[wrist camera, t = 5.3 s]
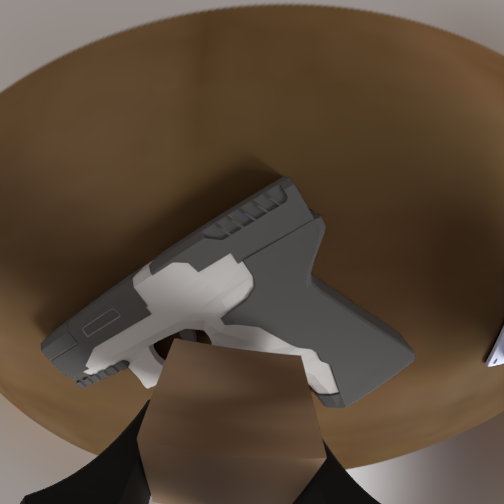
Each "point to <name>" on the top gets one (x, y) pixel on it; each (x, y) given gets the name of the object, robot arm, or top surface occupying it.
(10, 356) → the top surface
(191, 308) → the handgun
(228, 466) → the walnut cube
